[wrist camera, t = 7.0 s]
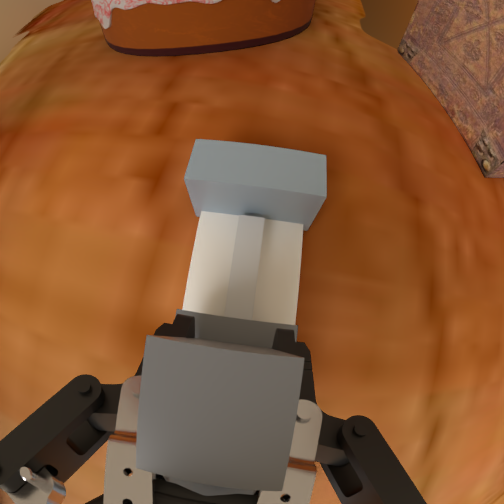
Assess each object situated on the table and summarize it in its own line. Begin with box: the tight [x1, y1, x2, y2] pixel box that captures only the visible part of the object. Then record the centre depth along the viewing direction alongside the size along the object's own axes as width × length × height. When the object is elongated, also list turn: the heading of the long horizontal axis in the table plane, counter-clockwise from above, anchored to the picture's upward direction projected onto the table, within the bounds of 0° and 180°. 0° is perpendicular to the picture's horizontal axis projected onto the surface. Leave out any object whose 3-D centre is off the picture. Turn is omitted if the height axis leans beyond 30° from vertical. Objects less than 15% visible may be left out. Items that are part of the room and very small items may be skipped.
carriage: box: [136, 309, 305, 491], centre depth 10 cm, size 6×6×11 cm
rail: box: [169, 139, 327, 496], centre depth 14 cm, size 25×8×5 cm, turn 173°
